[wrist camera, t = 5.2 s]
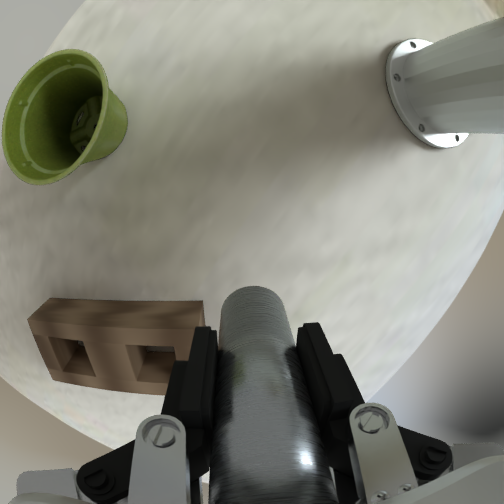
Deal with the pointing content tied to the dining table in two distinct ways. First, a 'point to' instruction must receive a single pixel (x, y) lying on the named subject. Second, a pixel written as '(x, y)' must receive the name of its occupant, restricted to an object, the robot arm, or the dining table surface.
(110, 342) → the socket block
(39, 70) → the plant pot
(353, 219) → the dining table surface
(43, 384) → the dining table surface
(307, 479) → the pin
